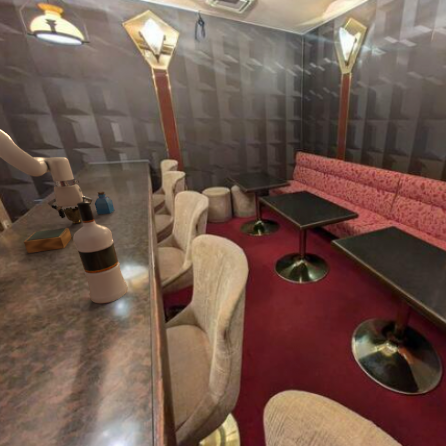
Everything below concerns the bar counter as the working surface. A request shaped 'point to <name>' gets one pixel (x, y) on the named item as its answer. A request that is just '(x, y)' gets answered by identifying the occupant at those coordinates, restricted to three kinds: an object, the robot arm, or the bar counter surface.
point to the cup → (73, 215)
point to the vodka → (98, 258)
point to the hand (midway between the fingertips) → (75, 216)
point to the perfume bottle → (103, 204)
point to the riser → (47, 240)
